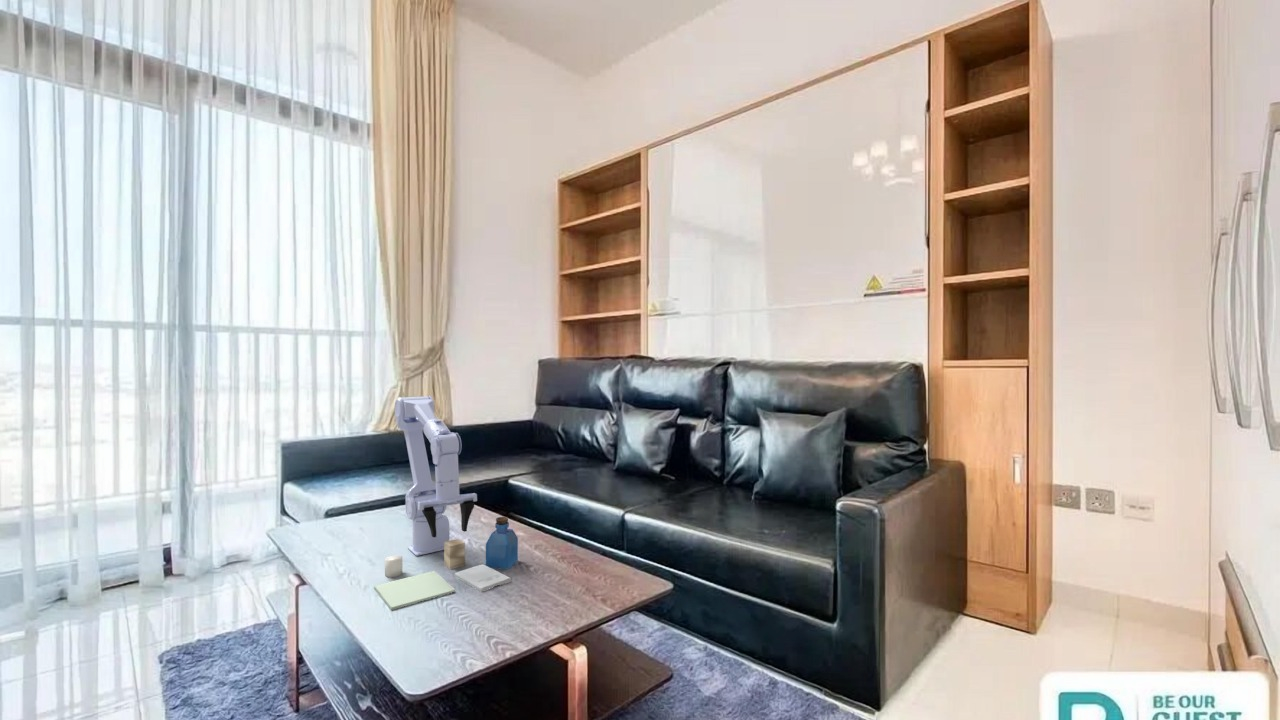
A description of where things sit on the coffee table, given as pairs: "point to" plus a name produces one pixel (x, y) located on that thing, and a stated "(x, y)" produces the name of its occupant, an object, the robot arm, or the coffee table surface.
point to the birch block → (454, 553)
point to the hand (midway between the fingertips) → (449, 533)
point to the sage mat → (413, 589)
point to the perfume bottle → (502, 546)
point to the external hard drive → (482, 577)
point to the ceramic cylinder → (393, 566)
